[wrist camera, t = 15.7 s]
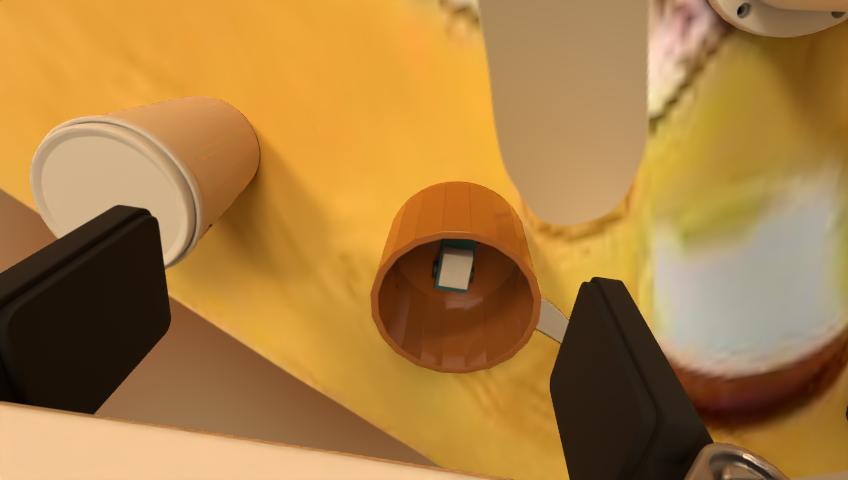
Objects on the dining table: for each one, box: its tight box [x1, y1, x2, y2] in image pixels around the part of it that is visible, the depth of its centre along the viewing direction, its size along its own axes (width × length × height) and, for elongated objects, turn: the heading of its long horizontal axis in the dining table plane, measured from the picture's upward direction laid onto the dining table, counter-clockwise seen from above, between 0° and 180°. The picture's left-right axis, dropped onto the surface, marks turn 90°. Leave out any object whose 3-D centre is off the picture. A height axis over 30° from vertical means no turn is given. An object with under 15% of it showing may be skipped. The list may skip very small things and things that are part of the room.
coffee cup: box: [30, 96, 260, 269], centre depth 32 cm, size 9×9×12 cm
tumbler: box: [371, 182, 542, 373], centre depth 35 cm, size 11×11×9 cm
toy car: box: [432, 238, 480, 293], centre depth 37 cm, size 6×3×3 cm, turn 173°
